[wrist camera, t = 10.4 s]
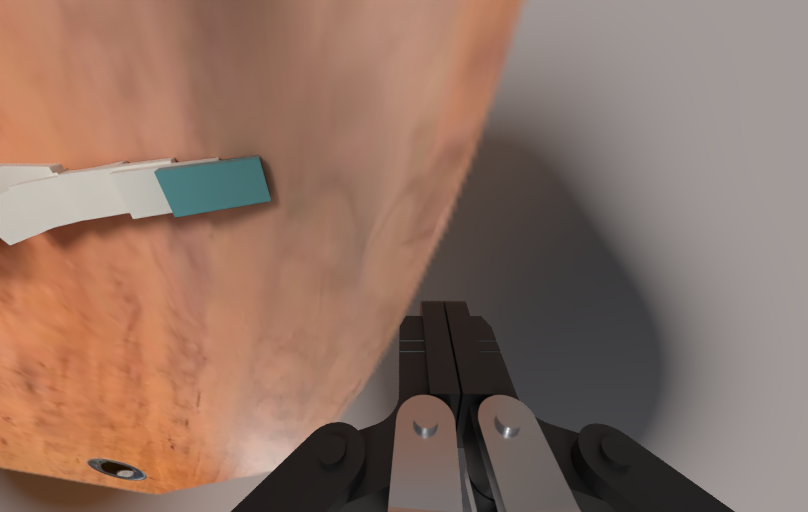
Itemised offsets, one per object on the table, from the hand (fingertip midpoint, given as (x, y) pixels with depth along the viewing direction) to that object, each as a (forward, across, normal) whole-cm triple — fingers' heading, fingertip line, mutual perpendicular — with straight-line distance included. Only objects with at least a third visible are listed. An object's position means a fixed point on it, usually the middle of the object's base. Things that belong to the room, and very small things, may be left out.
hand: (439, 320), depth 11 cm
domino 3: (+28, +28, +3) cm, 40 cm away
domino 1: (+28, +18, +3) cm, 33 cm away
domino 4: (+28, +33, +4) cm, 43 cm away
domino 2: (+28, +22, +3) cm, 36 cm away
